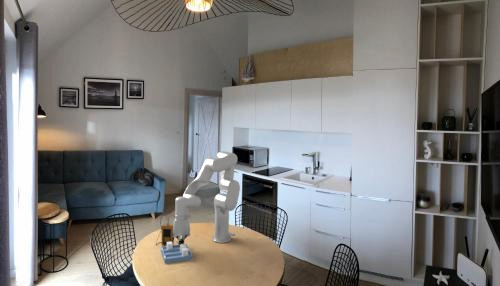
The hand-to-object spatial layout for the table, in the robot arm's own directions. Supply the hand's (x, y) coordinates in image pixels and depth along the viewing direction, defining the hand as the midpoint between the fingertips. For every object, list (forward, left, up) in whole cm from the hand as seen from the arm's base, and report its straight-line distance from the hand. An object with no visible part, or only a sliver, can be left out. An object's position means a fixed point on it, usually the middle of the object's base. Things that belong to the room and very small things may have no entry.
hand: (181, 245), depth 201 cm
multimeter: (+5, -14, -3) cm, 15 cm away
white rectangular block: (0, +6, -1) cm, 6 cm away
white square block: (0, +12, -1) cm, 12 cm away
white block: (+7, 0, -1) cm, 7 cm away
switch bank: (+4, +6, -3) cm, 8 cm away
